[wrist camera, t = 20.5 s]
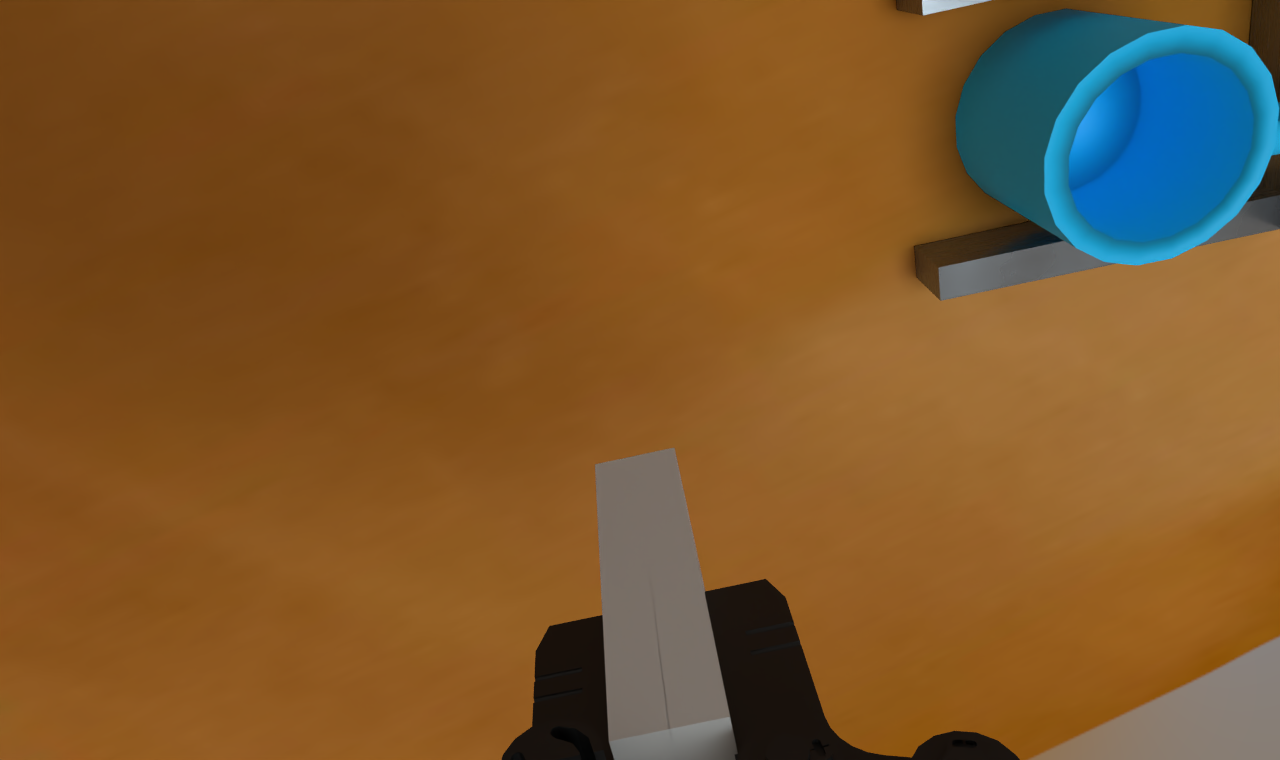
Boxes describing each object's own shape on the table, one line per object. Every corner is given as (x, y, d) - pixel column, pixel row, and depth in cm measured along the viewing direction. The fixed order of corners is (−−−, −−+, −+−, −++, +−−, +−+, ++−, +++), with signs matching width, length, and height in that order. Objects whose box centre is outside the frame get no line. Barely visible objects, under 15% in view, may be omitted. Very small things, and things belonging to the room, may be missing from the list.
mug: (944, 211, 41) (1026, 271, 33) (966, 12, 37) (1063, 30, 30) (1208, 197, 41) (1347, 253, 34) (1254, 0, 38) (1420, 14, 30)
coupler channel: (894, -31, 36) (987, -23, 28) (1313, -124, 36) (1530, -142, 28) (916, 277, 42) (999, 358, 34) (1279, 200, 41) (1452, 263, 33)
